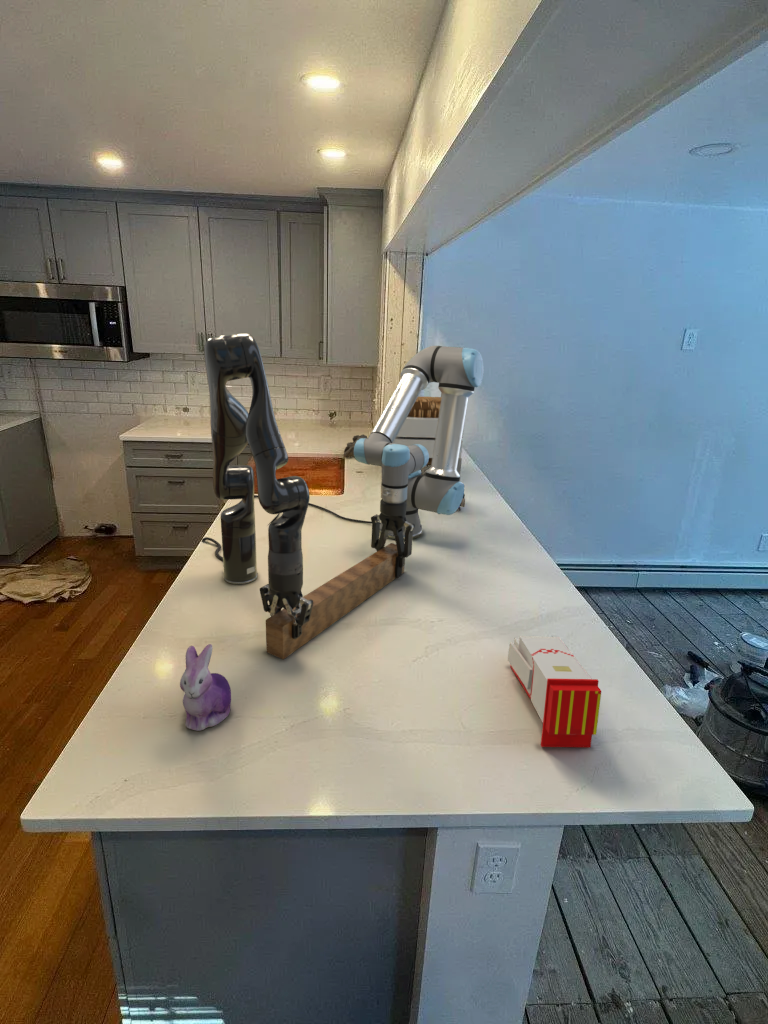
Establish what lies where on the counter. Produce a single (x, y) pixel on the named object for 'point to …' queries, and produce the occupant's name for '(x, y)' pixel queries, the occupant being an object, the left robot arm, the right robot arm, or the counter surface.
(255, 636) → the counter surface
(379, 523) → the right robot arm
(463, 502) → the figurine character
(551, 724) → the toy
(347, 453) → the fossil
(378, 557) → the post
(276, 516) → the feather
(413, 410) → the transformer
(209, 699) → the figurine
